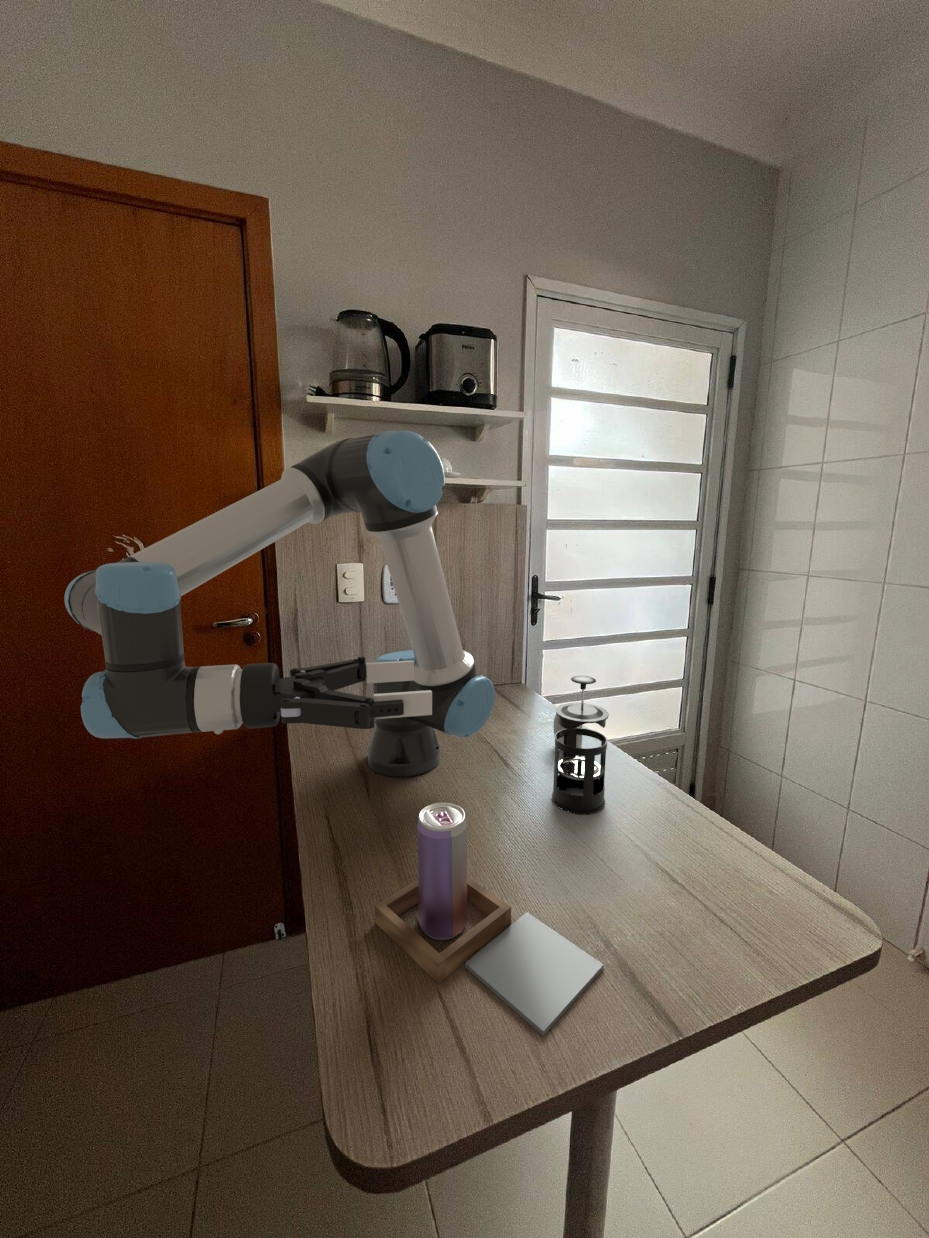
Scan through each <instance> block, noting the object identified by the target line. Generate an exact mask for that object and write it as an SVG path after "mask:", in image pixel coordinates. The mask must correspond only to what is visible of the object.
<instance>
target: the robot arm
mask: <svg viewBox="0 0 929 1238" xmlns="http://www.w3.org/2000/svg"><path fill="white" fill-rule="evenodd" d="M445 479H446V477H445V471H444V466H443V463H442V460H441V458H440V455H439V453H438V452H437V450H436V449H435V447H434V446H433V444H431V442H429V441H428V439H425V438H424V437H423V436H421V434H420V433H418V432H417V433H416V432H415V431H411V430H392V429H391V430H383V431H380V432H376V433H371V434H365V435H363V436H362V435H361V436H356V437H349V438H344V439H340V440H338V441H335V442H333V443H330V444H329V445H327V446H325V447H323V448H322V449H320V450H318V451H316V452H314V453H313V454H311V455H309V456H308V457H306V458H304V459H302V460H300V461H299V462H297V463H296V464H294V465H292V466H289V467H287V468H285V469H284V470H283V472H282V473H281V478H280V479H279V480H277V481H275V482H273V483H271V484H269V485H267V486H265V487H264V488H263V487H262V489H260V490H257V491H255V492H254V493H252V494H250V495H248V496H246V497H243V498H242V499H240V500H238V501H236V502H234V503H232V504H229V505H228V506H226V507H224V508H222V509H220V510H218V511H216V512H214V513H211V514H210V515H209V516H206V517H204V518H202V519H200V520H198V521H196V522H194V523H193V524H191V525H189V526H186V527H184V528H183V529H181V530H178V531H177V532H175V533H172V534H170V535H168V536H167V537H165V538H163V539H161V540H159V541H156V542H155V543H153V544H151V545H149V546H147V547H145V548H143V549H141V550H139V551H137V552H135V553H133V554H131V555H129V556H127V557H126V558H124V559H121V560H120V561H116V562H112V563H111V562H110V563H105V564H102V565H100V566H98V567H97V568H96V570H90V571H87V572H83V573H82V574H80V575H78V576H76V577H75V578H74V579H73V580H71V582H70V583H69V584H68V585H67V588H66V589H65V593H64V598H63V599H64V605H65V609H66V610H67V612H68V613H69V615H70V617H71V618H73V620H74V621H75V623H77V624H78V625H81V626H82V627H83V629H86V630H89V631H91V632H95V633H97V634H99V635H101V639H102V646H103V652H104V659H105V661H104V663H105V669H104V670H102V671H98V672H95V673H93V674H92V675H90V676H89V677H88V678H87V679H86V682H85V683H84V685H83V688H82V692H81V697H82V702H81V705H80V715H81V718H82V719H81V720H82V723H83V725H84V728H86V730H87V731H88V733H89V734H90V735H92V736H93V737H95V738H99V739H129V738H130V739H133V740H137V739H143V738H146V737H147V738H148V737H149V738H150V737H158V736H159V737H161V736H169V735H170V736H171V735H182V734H189V733H190V734H191V733H202V732H213V733H214V734H216V735H221V734H222V733H223V732H224V731H229V730H230V731H231V730H237V729H239V728H240V727H241V726H242V724H243V726H244V727H245V728H246V729H261V728H273V727H276V726H277V725H278V724H279V721H280V718H281V724H283V725H285V724H287V725H288V724H310V725H316V726H317V725H318V726H329V727H336V728H337V727H339V728H349V729H360V730H370V729H374V730H373V733H372V737H371V740H370V745H369V747H368V750H367V764H368V766H369V768H370V769H371V770H372V771H374V772H375V773H377V774H379V775H384V776H388V777H396V778H397V777H401V778H403V777H404V778H405V777H411V776H413V777H414V776H417V775H421V774H425V773H427V772H429V771H431V770H433V769H435V768H436V767H437V766H438V765H439V763H440V762H441V746H440V744H439V741H438V739H437V735H436V732H435V730H437V731H440V732H442V733H444V734H446V735H449V736H455V737H458V738H469V737H473V735H476V734H477V733H478V732H480V731H481V730H482V728H483V727H484V726H485V725H486V723H487V722H488V720H489V718H490V715H491V714H492V711H493V707H494V705H495V697H496V695H495V694H496V692H495V687H494V684H493V682H492V680H491V679H489V678H487V677H486V675H485V676H484V675H480V674H478V672H477V668H476V667H477V666H476V663H475V659H474V656H473V655H472V654H471V653H470V652H468V651H465V649H463V646H462V642H461V639H460V635H459V634H460V633H459V630H458V627H457V623H456V618H455V615H454V614H455V613H454V611H453V606H452V603H451V599H450V596H449V595H450V594H449V590H448V587H447V582H446V578H445V575H444V572H443V567H442V563H441V559H440V555H439V549H438V547H437V543H436V540H435V539H436V538H435V536H434V532H433V527H432V525H433V522H434V521H435V519H436V517H437V515H438V514H439V512H438V508H437V504H438V503H439V502H440V500H441V499H442V496H443V492H444V491H443V490H442V488H443V487H444V486H445V482H446V481H445ZM347 513H360V514H361V517H362V521H363V523H364V526H365V529H366V532H367V533H368V534H370V535H372V536H374V537H376V538H378V540H379V542H380V546H381V549H382V552H383V555H384V559H385V562H386V566H387V568H388V571H389V575H390V579H391V582H392V586H393V588H394V592H395V595H396V596H395V597H396V599H397V603H398V606H399V609H400V613H401V615H402V619H403V622H404V625H405V629H406V632H407V633H406V634H407V635H408V639H409V642H410V646H411V649H409V650H401V651H394V652H390V653H386V654H383V655H379V656H378V657H377V658H376V659H375V660H374V662H366V657H365V656H357V658H354V659H348V660H344V661H343V660H342V661H338V662H331V663H326V664H321V665H316V666H315V665H314V666H310V667H300V668H295V667H294V668H292V669H289V676H287V677H281V676H280V670H279V669H280V668H279V667H278V665H277V664H276V663H274V662H265V663H247V664H246V665H244V666H243V667H242V668H241V666H240V665H239V664H222V665H221V664H220V665H204V666H194V667H193V666H186V664H185V651H184V650H185V649H184V640H183V639H184V638H183V637H184V636H183V624H182V613H181V610H182V609H181V600H182V599H181V598H182V596H184V595H185V594H187V593H189V592H191V591H193V590H194V589H196V588H198V587H200V586H201V585H203V584H204V583H206V582H208V581H210V580H211V579H213V578H215V577H217V576H218V575H220V574H222V573H223V572H225V571H227V570H228V569H230V568H232V567H233V566H235V565H237V564H239V563H240V562H242V561H244V560H246V559H247V558H250V557H251V556H253V555H254V554H256V553H257V552H259V551H261V550H263V549H265V548H266V547H268V546H270V545H272V544H273V543H275V542H277V541H278V540H280V539H282V538H284V537H285V536H287V535H289V534H291V533H292V532H294V531H296V530H297V529H299V528H301V527H302V526H304V525H306V524H307V523H309V524H312V525H318V524H321V523H322V522H324V521H326V520H328V519H330V518H332V517H334V516H338V515H342V514H347ZM365 681H366V684H373V697H368V696H363V695H358V694H353V693H347V692H342V691H338V690H339V689H342V688H346V687H349V686H352V685H356V684H359V683H361V682H365Z"/></svg>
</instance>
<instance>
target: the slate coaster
mask: <svg viewBox="0 0 929 1238" xmlns="http://www.w3.org/2000/svg"><path fill="white" fill-rule="evenodd" d="M464 968H465V969H466V970H467V971H468V972H469V973H470V974H472V975H473V977H475V978H476V979H477V980H479V981H480V982H481V983H482V984H483V985H484V986H486V987H487V988H488V989H489V990H490V991H491V992H492V993H494V994H495V996H497V997H498V998H499V999H500V1000H501V1001H502V1002H503V1003H504V1004H506V1006H509V1008H511V1010H513V1011H514V1012H515V1013H516V1014H517V1015H518V1016H520V1017H521V1018H522V1019H523V1020H524V1021H526V1023H527V1024H529V1025H530V1026H531V1027H532V1028H533V1029H534V1030H535V1031H537V1032H538V1034H539V1035H541V1036H542V1037H545V1036H546V1034H547V1033H548V1032H549V1031H550V1030H551V1028H552V1027H554V1025H555V1024H556V1023H557V1022H558V1021H559V1020H560V1018H561V1017H562V1016H563V1015H564V1014H565V1013H566V1012H567V1011H568V1009H569V1008H570V1007H571V1006H572V1005H573V1004H574V1003H575V1002H576V1000H577V999H578V998H579V997H580V996H581V995H582V994H583V993H584V991H585V990H586V989H587V988H588V987H589V986H590V985H591V983H592V982H594V981H595V979H596V978H597V977H598V976H599V975H600V974H601V972H602V971H604V964H603V963H602V962H600V961H599V960H597V959H596V958H595V957H593V956H592V955H591V954H589V953H588V952H586V951H584V950H583V949H582V948H580V947H579V946H577V945H575V944H574V943H573V942H571V941H570V940H568V939H567V938H565V937H564V936H563V935H561V934H559V933H558V932H556V931H555V930H554V929H553V928H552V927H549V926H548V925H546V924H545V923H544V922H542V921H541V920H539V919H538V918H536V917H535V916H534V915H532V914H531V913H529V912H528V911H527V912H525V913H524V914H523V915H521V916H520V917H519V918H518V919H516V921H514V922H513V923H511V925H510V926H509V927H507V928H506V929H505V930H504V931H502V932H501V933H500V934H499V935H498V936H496V937H495V938H494V939H493V940H492V941H490V942H489V943H488V944H487V945H485V946H484V947H483V948H482V949H481V950H479V951H478V952H477V953H476V954H475V955H473V956H472V957H471V958H470V959H468V960H467V961H466V962H465V963H464Z"/></svg>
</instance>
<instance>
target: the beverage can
mask: <svg viewBox="0 0 929 1238" xmlns="http://www.w3.org/2000/svg"><path fill="white" fill-rule="evenodd" d="M416 830H417V831H416V834H417V835H416V836H417V837H416V838H417V839H416V840H417V841H416V842H417V879H418V891H419V902H418V922H419V923H418V924H419V926H420V928H421V930H422V931H423V932H424V934H426V936H427V937H430V938H431V939H434V940H436V941H447V940H452V939H453V938H455V937H458V936H459V935H460V934H461V933H462V932H463V930H464V928H465V927H466V925H467V921H468V900H467V876H468V821H467V818H466V812H465V811H464V809H463V808H462V807H461V806H459V805H456V804H455V803H451V802H436V803H431V804H429V805H427V806H425V807H424V808H422V809H421V810H420V811H419V814H418V820H417V823H416Z"/></svg>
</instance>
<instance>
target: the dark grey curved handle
mask: <svg viewBox="0 0 929 1238" xmlns="http://www.w3.org/2000/svg"><path fill="white" fill-rule="evenodd" d="M555 713H556V712H555ZM577 728H580V726H579V727H577ZM563 729H564V728H563V727H562V726H561V725H559V723H558V715H557V713H556V714H555V715H554V717H553V735H554V737H555V734H556V733H557V732H558V731H560V730H563ZM558 741H560V742H561V743H563V744H564V736H563V737H561V738H559V739H558ZM579 746H580V735H577V740H576V748H579ZM561 753H563V751H561Z"/></svg>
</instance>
